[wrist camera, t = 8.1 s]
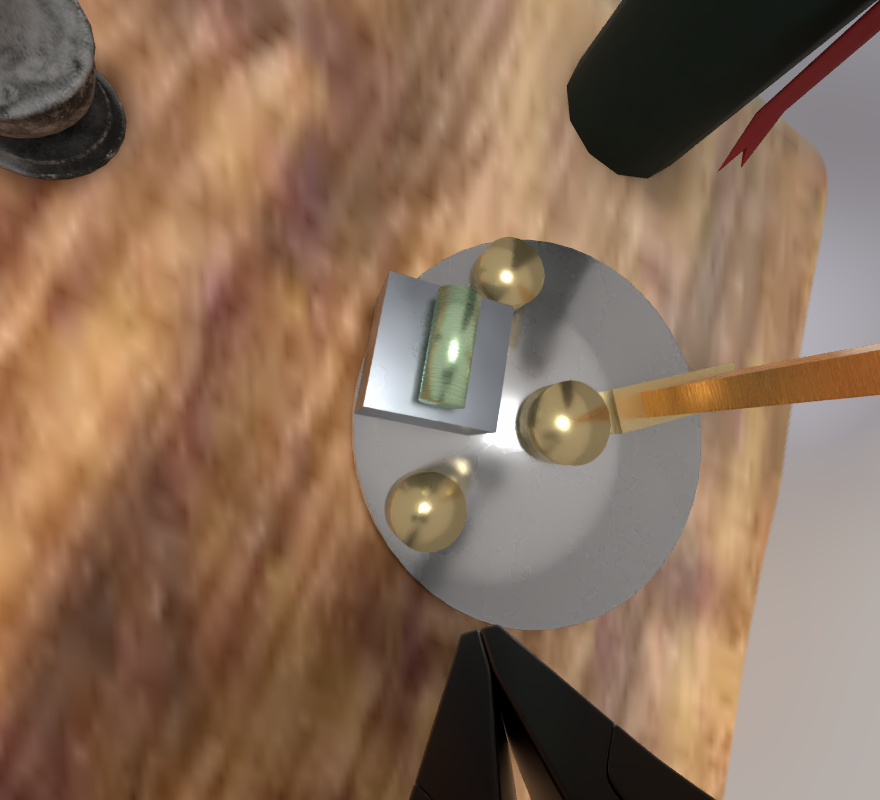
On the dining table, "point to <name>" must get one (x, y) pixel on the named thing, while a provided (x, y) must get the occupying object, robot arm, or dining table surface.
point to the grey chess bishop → (53, 93)
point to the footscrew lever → (685, 400)
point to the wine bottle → (701, 72)
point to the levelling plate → (517, 435)
